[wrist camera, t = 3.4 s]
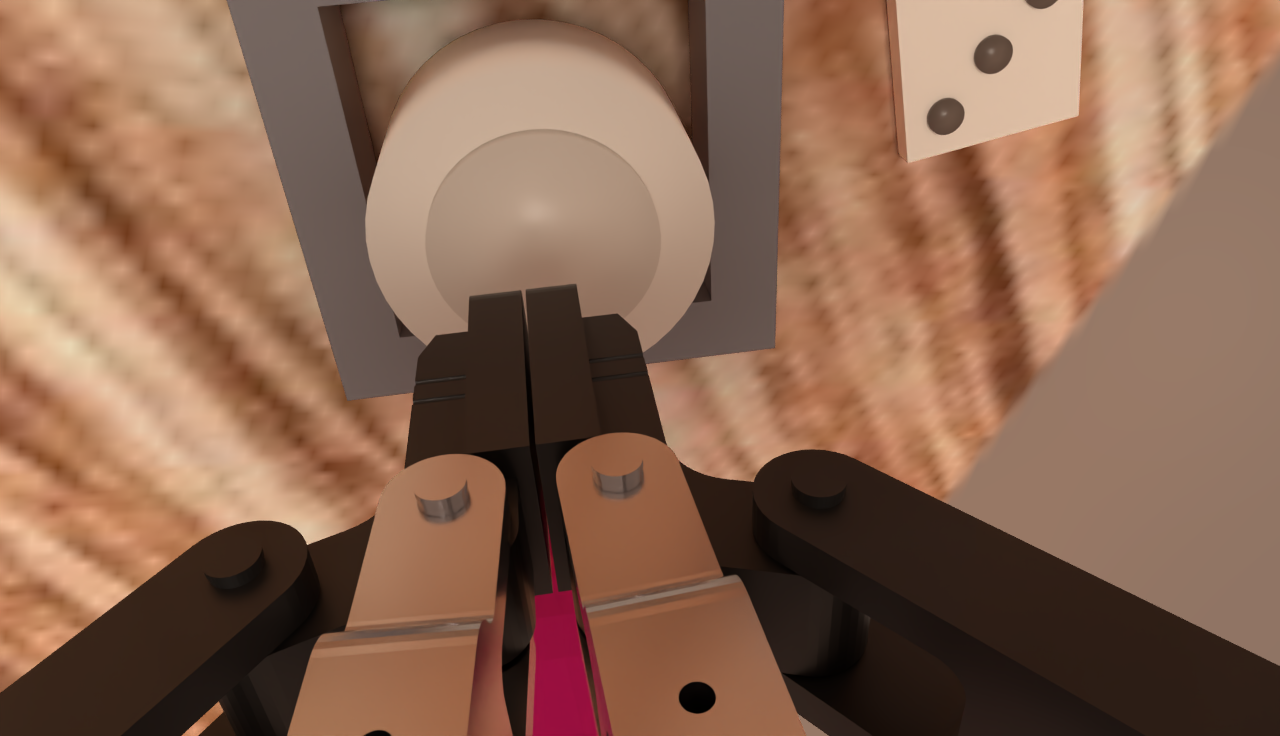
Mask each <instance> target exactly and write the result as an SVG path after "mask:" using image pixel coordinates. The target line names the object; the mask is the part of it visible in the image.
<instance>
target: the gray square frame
mask: <svg viewBox="0 0 1280 736" xmlns="http://www.w3.org/2000/svg"><path fill="white" fill-rule="evenodd" d="M374 1H384V0H227V3H228V6H229V9H230V13H231V16H232V19H233V23H234V26H235V29H236V33H237V36H238V39H239V43H240V46H241V49H242V52H243V56H244V59H245V62H246V66H247V69H248V72H249V76H250V79H251V82H252V86H253V89H254V92H255V96H256V99H257V102H258V106H259V109H260V112H261V115H262V119H263V122H264V125H265V129H266V132H267V135H268V139H269V142H270V145H271V149H272V152H273V155H274V159H275V162H276V165H277V169H278V172H279V175H280V179H281V182H282V185H283V188H284V192H285V195H286V198H287V202H288V205H289V208H290V212H291V215H292V218H293V222H294V225H295V228H296V232H297V235H298V238H299V242H300V245H301V248H302V251H303V255H304V258H305V261H306V265H307V268H308V271H309V275H310V278H311V281H312V285H313V288H314V291H315V295H316V298H317V301H318V305H319V308H320V311H321V314H322V318H323V321H324V324H325V328H326V331H327V334H328V338H329V341H330V344H331V348H332V351H333V354H334V358H335V361H336V364H337V368H338V371H339V374H340V377H341V381H342V384H343V387H344V391H345V394H346V397H347V401H349V400H357V399H365V398H373V397H381V396H389V395H397V394H406V393H414V386H416V384H415V377H416V369H417V361H418V357H419V355H420V354H421V353H422V352H423V350H424V349H425V348H426V347H427V346H426V345H425V344H424V343H423V342H422V341H421V340H419V339H418V338H417V337H416V336H415V335H414V334H413V333H411V332H410V330H409V329H408V328H407V327H406V326H405V325H404V324H403V323H402V321H401V320H400V319H399V318H398V317H397V316H396V314H395V313H394V311H393V310H392V308H391V307H390V305H389V304H388V302H387V301H386V299H385V297H384V295H383V293H382V291H381V289H380V287H379V285H378V283H377V281H376V278H375V275H374V272H373V269H372V266H371V263H370V260H369V254H368V249H367V243H366V227H365V217H366V208H367V200H368V195H369V191H370V187H371V184H372V180H373V176H374V173H375V170H376V166H377V164H376V159H375V155H374V151H373V147H372V142H371V138H370V134H369V130H368V125H367V121H366V117H365V113H364V109H363V104H362V100H361V96H360V92H359V87H358V83H357V79H356V75H355V70H354V66H353V62H352V58H351V53H350V49H349V45H348V41H347V37H346V32H345V28H344V24H343V20H342V15H341V11H340V7H339V5H341V4H352V3H363V2H374ZM688 16H689V49H690V81H691V114H692V145H693V147H694V149H695V152H696V154H697V156H698V158H699V160H700V162H701V164H702V167H703V170H704V172H705V175H706V177H707V180H708V183H709V187H710V191H711V196H712V200H713V208H714V220H715V226H714V243H713V248H712V253H711V258H710V263H709V266H708V269H707V272H706V275H705V278H704V281H703V283H702V285H701V287H700V289H699V291H698V293H697V295H696V297H695V299H694V300H693V302H692V303H691V305H690V306H689V308H688V309H687V311H686V312H685V314H684V315H683V316H682V317H681V319H680V320H679V321H678V322H677V323H676V324H675V326H674V327H673V328H672V329H671V330H670V331H669V332H668V333H667V334H666V335H665V336H663V337H662V338H661V339H660V340H659V341H658V342H657V343H656V344H654V345H653V346H652V347H650V348H649V349H647V350H646V351H645V352H643V357H644V359H645V363H646V364H649V363H658V362H666V361H674V360H682V359H690V358H698V357H706V356H714V355H723V354H731V353H739V352H747V351H755V350H763V349H771V348H775V331H776V292H777V254H778V215H779V176H780V137H781V98H782V60H783V21H784V0H688Z"/></svg>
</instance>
